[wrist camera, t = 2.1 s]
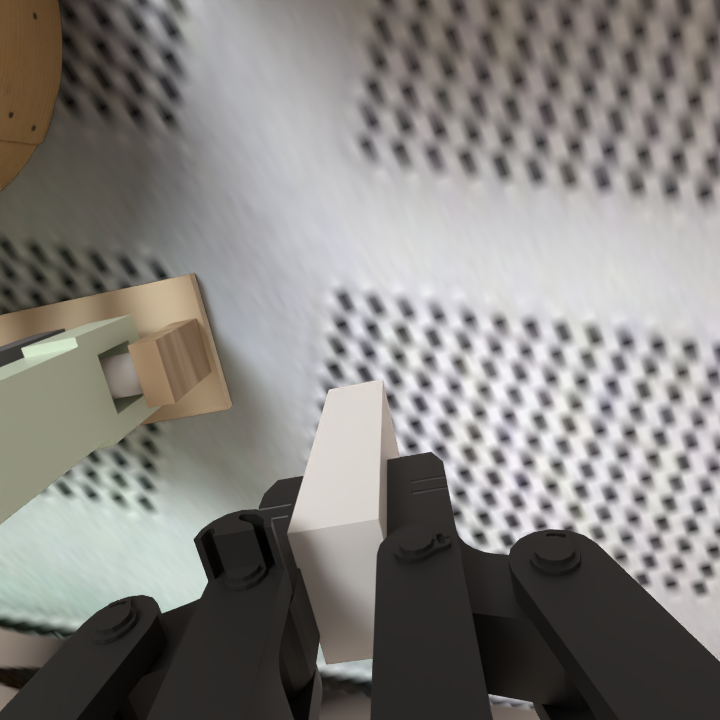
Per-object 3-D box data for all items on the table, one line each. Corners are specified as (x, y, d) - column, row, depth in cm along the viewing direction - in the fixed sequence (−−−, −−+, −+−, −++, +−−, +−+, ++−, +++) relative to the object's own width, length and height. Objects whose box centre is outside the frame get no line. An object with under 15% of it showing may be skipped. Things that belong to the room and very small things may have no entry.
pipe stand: (194, 273, 35) (146, 288, 28) (232, 405, 37) (195, 447, 31) (-132, 343, 38) (-242, 371, 32) (-79, 460, 40) (-172, 510, 34)
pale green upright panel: (131, 314, 33) (-89, 402, 18) (161, 406, 35) (-21, 556, 20) (86, 323, 34) (-166, 417, 19) (117, 414, 35) (-93, 567, 20)
